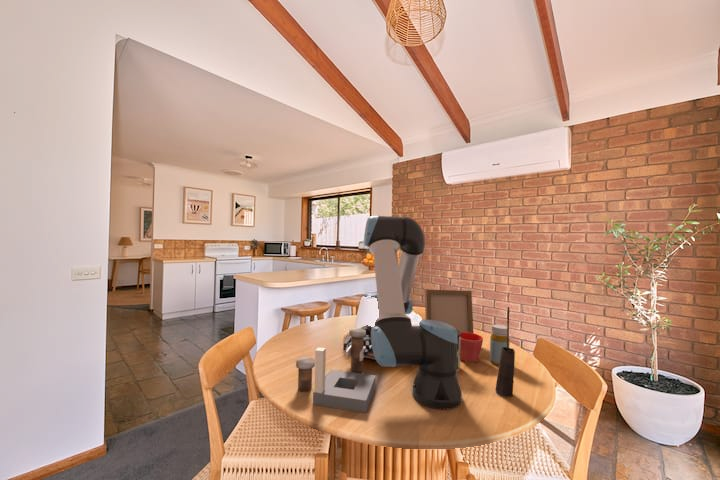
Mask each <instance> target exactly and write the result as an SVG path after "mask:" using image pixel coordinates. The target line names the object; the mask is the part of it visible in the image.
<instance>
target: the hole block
mask: <svg viewBox="0 0 720 480" xmlns="http://www.w3.org/2000/svg"><path fill="white" fill-rule="evenodd" d="M314 354H315V357H314V358H315V359H314V360H315V366H314V390H313V392H312V405H314V406H321V407H326V408H334V409H339V410H345V411H351V412H352V411H353V412H357V413H359V412H360V413H363V414H366V413H367V410H368V407H369V406H370V402H371V399H372V396H373V394H374V391H375V388H376V380H377V379H376V376H377V375H374V374H368V373H363V374H361V373H354V372H351V371H346V370H345V371H344V370H337V369H331V368H330V369H329V371H328V372H327V373H326V359H327V356H326V355H327V348H326V347H317V348H316V349H315V353H314Z"/></svg>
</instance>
